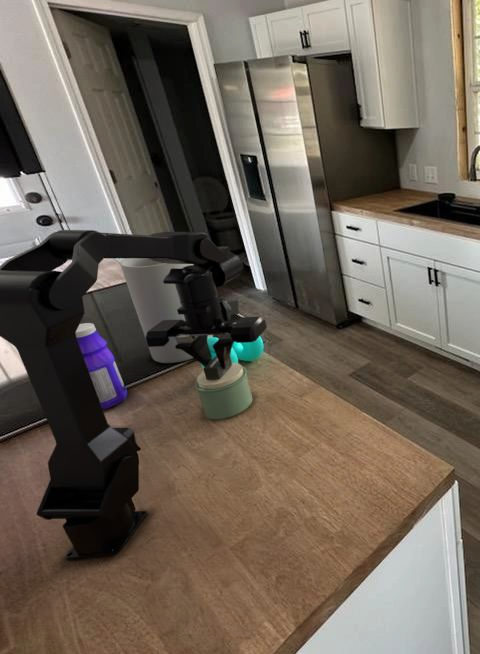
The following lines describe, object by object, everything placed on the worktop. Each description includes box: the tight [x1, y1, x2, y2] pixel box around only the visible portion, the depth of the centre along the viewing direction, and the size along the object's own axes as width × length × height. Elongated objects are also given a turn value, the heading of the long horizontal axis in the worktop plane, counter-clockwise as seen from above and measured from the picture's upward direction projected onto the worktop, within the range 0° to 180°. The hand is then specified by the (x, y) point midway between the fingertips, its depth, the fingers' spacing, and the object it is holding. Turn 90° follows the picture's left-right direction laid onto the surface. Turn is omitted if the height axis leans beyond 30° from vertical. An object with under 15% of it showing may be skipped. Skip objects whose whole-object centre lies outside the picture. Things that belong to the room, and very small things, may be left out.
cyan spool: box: [199, 335, 264, 369], centre depth 96 cm, size 10×10×10 cm
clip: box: [203, 355, 232, 380], centre depth 82 cm, size 5×2×3 cm, turn 8°
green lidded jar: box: [194, 362, 254, 420], centre depth 84 cm, size 9×9×8 cm
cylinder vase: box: [119, 258, 214, 364], centre depth 99 cm, size 12×12×25 cm
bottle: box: [76, 322, 128, 410], centre depth 82 cm, size 7×6×17 cm
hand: (218, 368), depth 82 cm, fingers closed on clip, 2 cm apart
